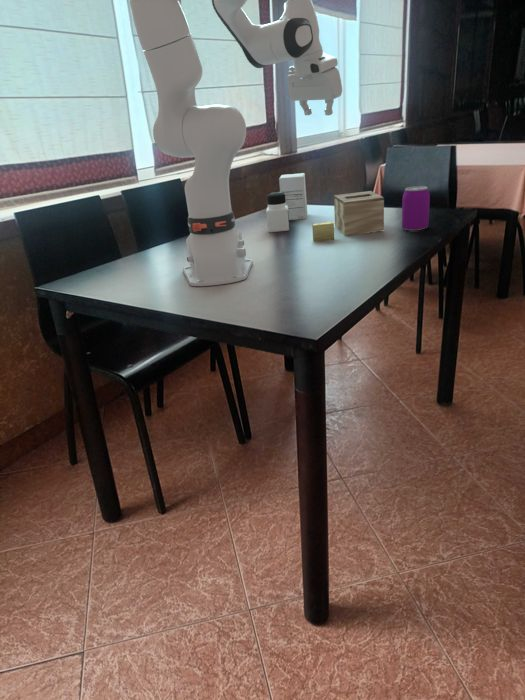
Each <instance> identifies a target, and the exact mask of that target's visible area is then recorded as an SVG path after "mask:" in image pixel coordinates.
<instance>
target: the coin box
mask: <svg viewBox="0 0 525 700" xmlns="http://www.w3.org/2000/svg"><path fill="white" fill-rule="evenodd" d="M333 203H334V204H333V205H334V206H333V207H334V210H333V211H334V228H336V229H337V230H338V231H339V232H340V233H341V234H343V236H345V237H346V236H353V235H354V236H355V235H356V236H357V235H363V234H370V232H372V233H377V232H376V231H380V232H383V231H382V230H384V231H385V197H384V196H382V195H380V194H379V193H376V192H374V191H372V190H367V191H359V192H352V193H351V192H350V193H343V194H342V193H341V194H334V195H333Z"/></svg>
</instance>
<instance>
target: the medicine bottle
mask: <svg viewBox="0 0 525 700" xmlns="http://www.w3.org/2000/svg"><path fill="white" fill-rule="evenodd" d="M266 200H267V207H266V221H267V228H268V229H267V230H268V233H280V232H288V231H290V228H291V227H290V220H289V214H288V206H287V205H286V198H285V194H284V193H282V192H280V191H277V192H271V193H269V194H267V196H266Z"/></svg>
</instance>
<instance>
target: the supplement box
mask: <svg viewBox="0 0 525 700" xmlns="http://www.w3.org/2000/svg"><path fill="white" fill-rule="evenodd" d="M305 175H306V174H305V172H301V173H299V172H298V173H293V174H292V173H289V174H281V175H280V177H279V178H278V181H279V183H278V184H279V192H282V193H284V194H285V198H286V205H287V206H288V214H289V221H293V220H307V217H308V203H307V202H308V199H307V187H306V186H307V185H306V176H305Z"/></svg>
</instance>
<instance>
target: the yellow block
mask: <svg viewBox="0 0 525 700" xmlns="http://www.w3.org/2000/svg"><path fill="white" fill-rule="evenodd" d="M311 226H312V228H311V229H312V241H313V242H314V243H321V242H329V241H335V222H333V221H326V222H325V221H324V222H319V223H318V222H317V223H312V224H311Z"/></svg>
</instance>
